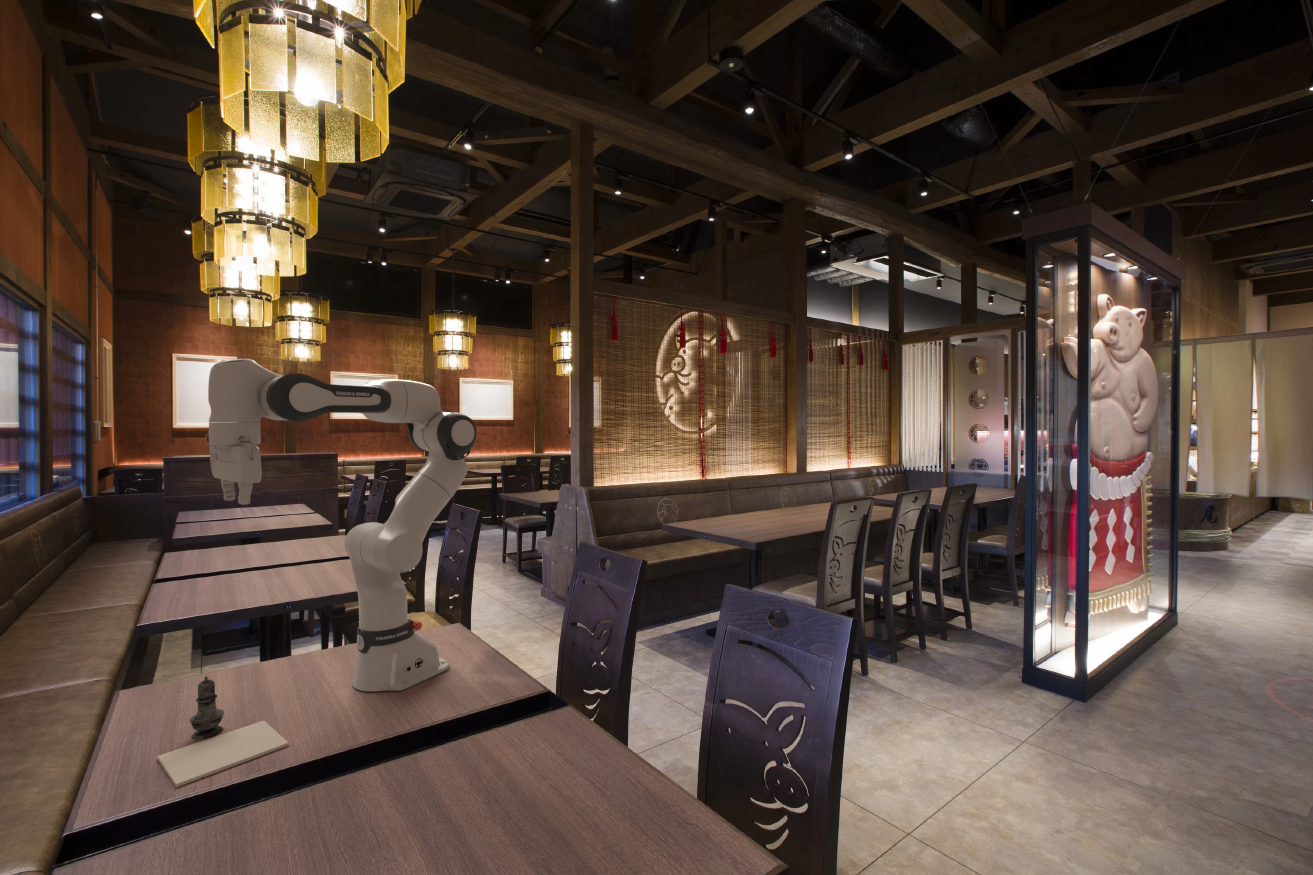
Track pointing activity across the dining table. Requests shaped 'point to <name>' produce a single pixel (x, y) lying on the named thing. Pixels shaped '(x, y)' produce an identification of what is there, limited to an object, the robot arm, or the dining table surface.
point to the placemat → (220, 752)
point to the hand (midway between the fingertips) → (236, 502)
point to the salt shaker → (206, 712)
